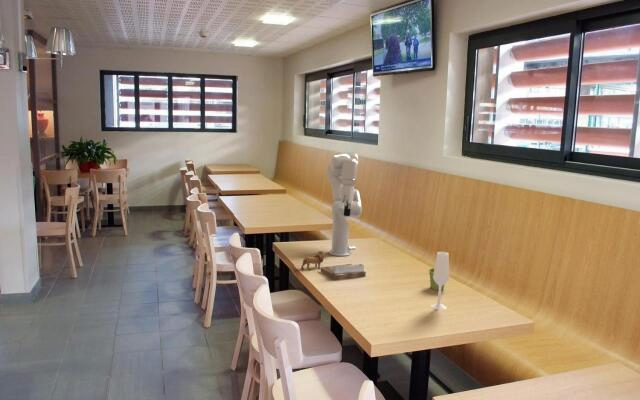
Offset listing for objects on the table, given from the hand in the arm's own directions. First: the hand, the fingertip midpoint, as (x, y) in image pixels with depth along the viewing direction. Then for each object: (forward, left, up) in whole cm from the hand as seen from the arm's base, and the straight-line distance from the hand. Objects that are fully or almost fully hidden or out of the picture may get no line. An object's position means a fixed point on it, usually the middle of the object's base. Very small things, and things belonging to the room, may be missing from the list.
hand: (347, 215), depth 275 cm
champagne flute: (-6, +71, -27) cm, 76 cm away
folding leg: (+10, +21, -24) cm, 34 cm away
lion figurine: (+20, +1, -27) cm, 34 cm away
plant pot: (-22, +51, -27) cm, 62 cm away
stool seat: (+10, +16, -27) cm, 33 cm away
